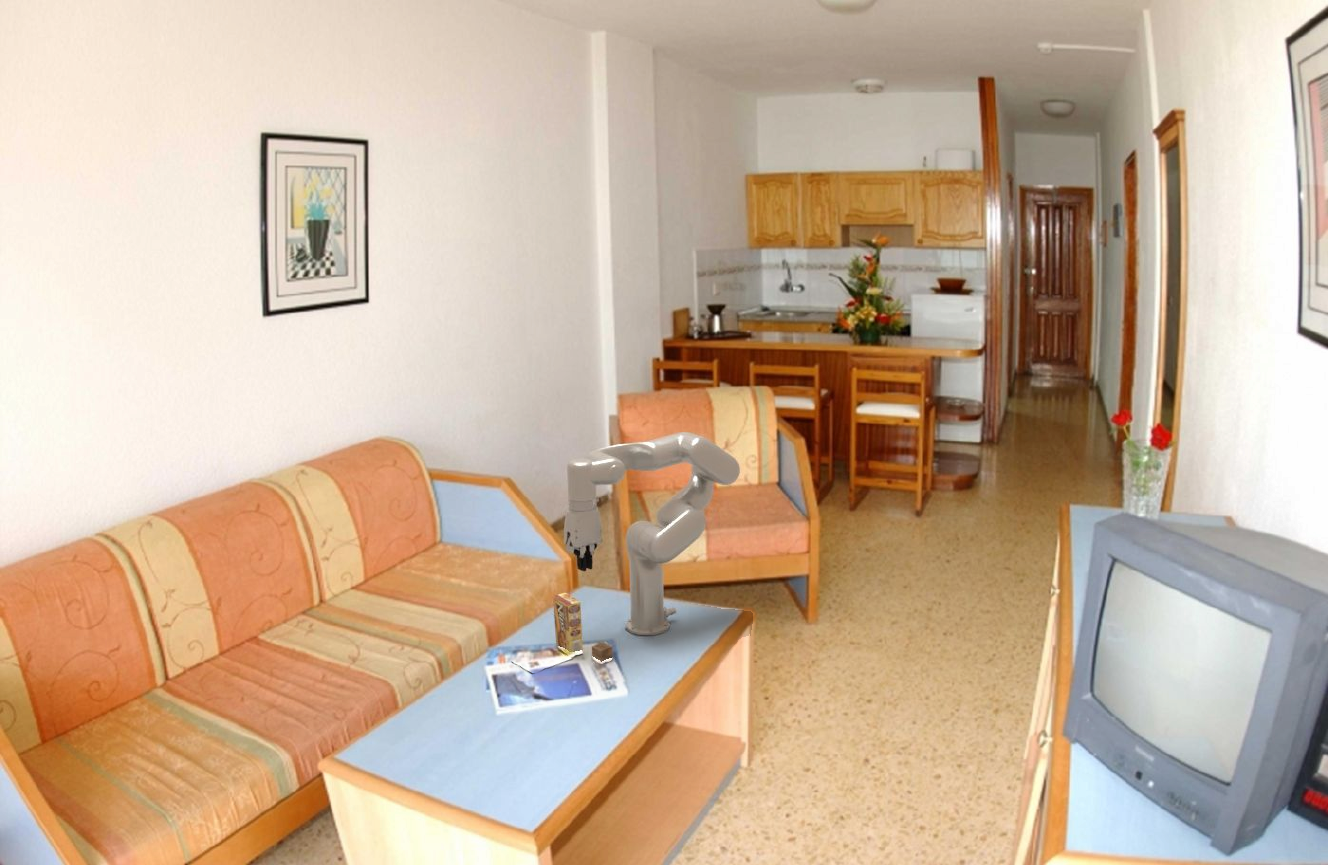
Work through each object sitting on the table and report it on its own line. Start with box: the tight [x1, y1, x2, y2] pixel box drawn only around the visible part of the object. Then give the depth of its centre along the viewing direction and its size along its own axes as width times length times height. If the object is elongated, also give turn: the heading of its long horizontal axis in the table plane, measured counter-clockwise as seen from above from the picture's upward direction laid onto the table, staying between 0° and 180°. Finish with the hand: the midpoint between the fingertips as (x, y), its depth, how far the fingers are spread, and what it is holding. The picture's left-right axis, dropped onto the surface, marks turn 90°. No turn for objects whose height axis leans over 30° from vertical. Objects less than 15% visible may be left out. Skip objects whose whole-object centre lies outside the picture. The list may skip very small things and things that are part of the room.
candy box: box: [552, 592, 584, 652], centre depth 276 cm, size 9×4×15 cm, turn 34°
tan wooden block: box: [591, 641, 614, 662], centre depth 271 cm, size 4×4×4 cm
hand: (585, 568), depth 277 cm, fingers closed
